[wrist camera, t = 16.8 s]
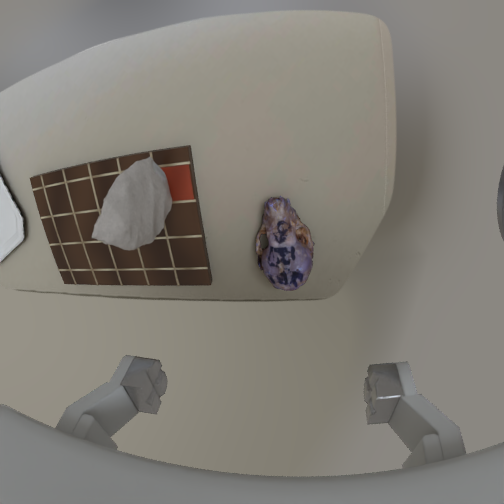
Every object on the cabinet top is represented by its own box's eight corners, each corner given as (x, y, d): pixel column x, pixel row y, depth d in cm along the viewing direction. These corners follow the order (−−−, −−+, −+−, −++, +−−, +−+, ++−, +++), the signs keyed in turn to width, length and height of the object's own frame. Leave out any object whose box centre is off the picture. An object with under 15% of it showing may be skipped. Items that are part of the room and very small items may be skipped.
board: (190, 145, 37) (187, 147, 36) (212, 280, 47) (210, 286, 45) (34, 175, 41) (28, 178, 39) (67, 280, 50) (63, 284, 49)
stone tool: (184, 215, 40) (139, 278, 27) (163, 220, 41) (112, 283, 28) (162, 148, 36) (99, 184, 23) (140, 155, 37) (72, 194, 24)
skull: (251, 193, 39) (254, 213, 34) (312, 189, 39) (324, 209, 34) (256, 272, 45) (259, 300, 40) (309, 268, 45) (318, 294, 40)
